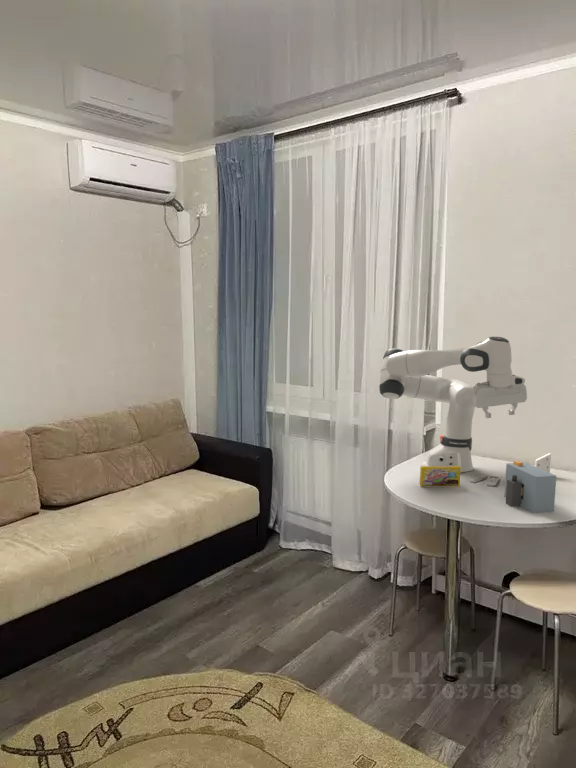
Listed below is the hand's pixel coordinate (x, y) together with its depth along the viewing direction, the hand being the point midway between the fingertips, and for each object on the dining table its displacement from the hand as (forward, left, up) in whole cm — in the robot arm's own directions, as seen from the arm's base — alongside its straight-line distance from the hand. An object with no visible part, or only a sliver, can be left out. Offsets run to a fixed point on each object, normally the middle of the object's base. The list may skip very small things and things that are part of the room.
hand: (500, 416), depth 221 cm
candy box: (-21, +6, -31) cm, 38 cm away
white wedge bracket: (+20, +36, -31) cm, 51 cm away
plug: (+7, -8, -31) cm, 33 cm away
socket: (+11, -6, -31) cm, 34 cm away
